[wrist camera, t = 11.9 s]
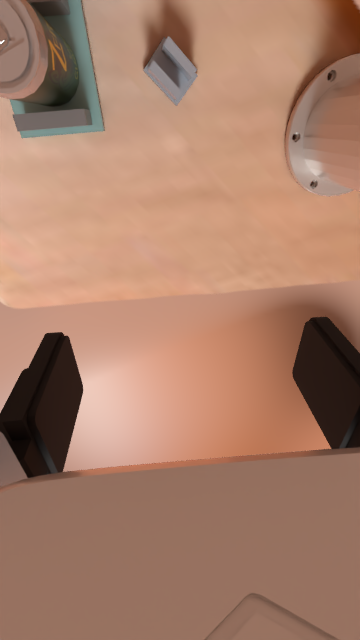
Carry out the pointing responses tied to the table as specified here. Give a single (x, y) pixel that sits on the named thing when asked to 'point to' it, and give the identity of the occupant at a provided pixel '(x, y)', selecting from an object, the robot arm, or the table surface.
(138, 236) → the table surface
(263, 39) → the table surface
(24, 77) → the beer can
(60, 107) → the end holder
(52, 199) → the table surface
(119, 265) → the table surface
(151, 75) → the clip
